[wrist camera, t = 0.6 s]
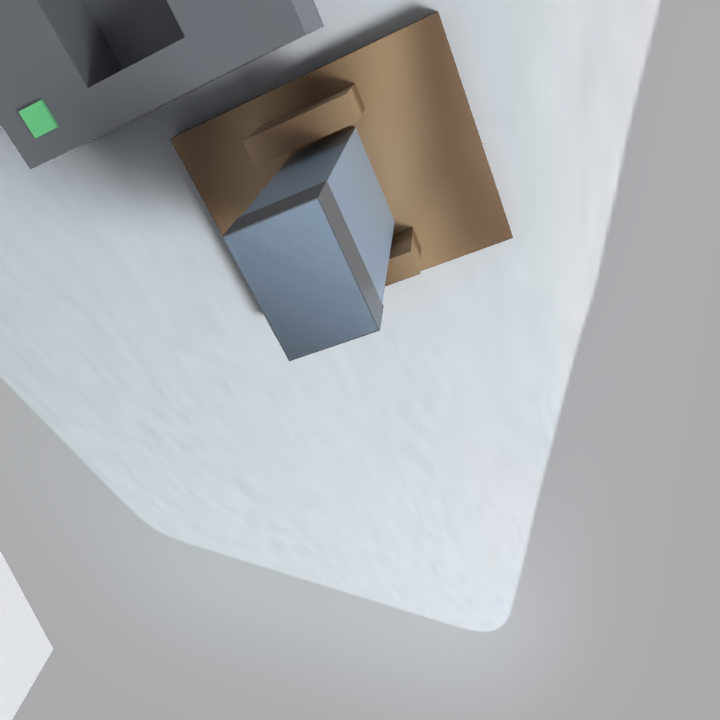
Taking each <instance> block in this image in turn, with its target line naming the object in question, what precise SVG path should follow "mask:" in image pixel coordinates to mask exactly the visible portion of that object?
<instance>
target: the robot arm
mask: <svg viewBox="0 0 720 720" xmlns="http://www.w3.org/2000/svg"><path fill="white" fill-rule="evenodd" d="M52 650H53V648H52V646H51V645H50V643H49V641H48V639H47V637H46V635H45V633H44V631H43V630H42V628H41V626H40V624H39V622H38V620H37V618H36V617H35V615H34V613H33V611H32V609H31V607H30V605H29V604H28V602H27V600H26V598H25V596H24V594H23V592H22V591H21V589H20V587H19V585H18V583H17V581H16V580H15V578H14V576H13V574H12V572H11V570H10V568H9V567H8V565H7V563H6V561H5V559H4V557H3V556H2V554H1V552H0V720H12V719H13V717H14V715H15V714H16V712H17V710H18V708H19V707H20V705H21V703H22V702H23V700H24V698H25V696H26V695H27V693H28V691H29V690H30V688H31V686H32V685H33V683H34V681H35V679H36V678H37V676H38V674H39V672H40V671H41V669H42V667H43V665H44V664H45V662H46V660H47V659H48V657H49V655H50V654H51V652H52Z"/></svg>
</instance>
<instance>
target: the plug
mask: <svg viewBox="0 0 720 720" xmlns="http://www.w3.org/2000/svg"><path fill="white" fill-rule="evenodd" d="M394 224H395V221H394V218H393V216H392V214H391V211H390V209H389V206H388V204H387V201H386V199H385V197H384V194H383V192H382V189H381V187H380V185H379V182H378V180H377V177H376V175H375V172H374V170H373V168H372V165H371V163H370V160H369V158H368V156H367V153H366V151H365V148H364V146H363V143H362V141H361V139H360V136H359V134H358V131H357V129H356V127H354V128H352V129H350V130H348V131H345V132H343V133H341V134H338V135H336V136H334V137H332V138H329V139H327V140H325V141H323V142H320V143H318V144H316V145H313V146H311V147H309V148H307V149H304V150H302V151H300V152H297V153H295V154H293V155H291V156H290V157H289V158H288V160H287V161H286V162H285V163H284V164H283V166H282V167H281V168H280V169H279V171H278V172H277V173H276V174H275V175H274V177H273V178H272V179H271V180H270V181H269V183H268V184H267V185H266V186H265V188H264V189H263V190H262V191H261V192H260V194H259V195H258V196H257V197H256V199H255V200H254V201H253V202H252V203H251V205H250V206H249V207H248V208H247V210H246V211H245V212H244V213H243V214H242V216H241V217H239V218H237V219H236V220H235V221H234V222H233V224H232V225H231V226H230V227H229V228H228V230H227V231H226V232H225V233H224V234H223V236H222V239H223V241H224V243H225V244H226V246H227V248H228V250H229V252H230V254H231V255H232V257H233V259H234V261H235V263H236V265H237V266H238V268H239V270H240V272H241V274H242V276H243V277H244V279H245V281H246V283H247V285H248V287H249V288H250V290H251V292H252V294H253V296H254V298H255V299H256V301H257V303H258V305H259V307H260V309H261V310H262V312H263V314H264V316H265V318H266V320H267V321H268V323H269V325H270V327H271V329H272V331H273V332H274V334H275V336H276V338H277V340H278V342H279V343H280V345H281V347H282V349H283V351H284V353H285V354H286V356H287V358H288V360H289V361H292V360H294V359H297V358H300V357H303V356H306V355H309V354H312V353H315V352H318V351H321V350H324V349H327V348H330V347H333V346H336V345H339V344H342V343H344V342H347V341H350V340H353V339H356V338H359V337H362V336H365V335H368V334H371V333H374V332H377V331H380V326H381V319H382V312H383V304H382V300H383V294H384V288H385V281H386V275H387V269H388V262H389V256H390V249H391V243H392V237H393V230H394Z"/></svg>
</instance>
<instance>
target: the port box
mask: <svg viewBox="0 0 720 720" xmlns="http://www.w3.org/2000/svg"><path fill="white" fill-rule="evenodd" d="M321 27H323V23H322V21H321V18H320V16H319V13H318V11H317V8H316V6H315V4H314V1H313V0H0V123H1V125H2V126H3V128H4V129H5V131H6V133H7V134H8V136H9V137H10V139H11V140H12V142H13V143H14V145H15V146H16V148H17V149H18V151H19V152H20V154H21V155H22V157H23V159H24V160H25V162H26V163H27V165H28V166H29V168H30V169H32V168H34V167H36V166H39V165H41V164H43V163H45V162H47V161H49V160H51V159H54V158H56V157H58V156H60V155H62V154H64V153H66V152H69V151H71V150H73V149H75V148H77V147H79V146H82V145H84V144H86V143H88V142H90V141H92V140H94V139H96V138H98V137H100V136H102V135H104V134H106V133H108V132H110V131H112V130H114V129H116V128H118V127H120V126H122V125H124V124H126V123H128V122H130V121H132V120H134V119H136V118H138V117H140V116H142V115H144V114H146V113H149V112H151V111H153V110H155V109H157V108H159V107H161V106H163V105H165V104H167V103H169V102H171V101H173V100H175V99H177V98H179V97H181V96H183V95H185V94H187V93H189V92H191V91H193V90H195V89H197V88H199V87H201V86H203V85H205V84H207V83H209V82H211V81H213V80H215V79H217V78H220V77H222V76H224V75H226V74H228V73H230V72H232V71H234V70H236V69H238V68H240V67H242V66H244V65H246V64H248V63H250V62H252V61H254V60H256V59H258V58H260V57H262V56H264V55H266V54H268V53H270V52H272V51H274V50H276V49H278V48H280V47H282V46H284V45H286V44H288V43H291V42H293V41H295V40H297V39H299V38H301V37H303V36H305V35H307V34H309V33H311V32H313V31H315V30H317V29H319V28H321Z"/></svg>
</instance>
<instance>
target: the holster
mask: <svg viewBox="0 0 720 720" xmlns="http://www.w3.org/2000/svg"><path fill="white" fill-rule="evenodd" d="M354 127H356V129H357V131H358V134H359V136H360V139H361V141H362V143H363V146H364V148H365V151H366V153H367V156H368V158H369V160H370V163H371V165H372V168H373V170H374V172H375V175H376V177H377V180H378V182H379V185H380V187H381V189H382V192H383V194H384V197H385V199H386V201H387V204H388V206H389V209H390V211H391V214H392V216H393V218H394V221H395V224H394V230H393V237H392V243H391V249H390V256H389V262H388V269H387V275H386V281H385V286H388V285H390V284H393V283H396V282H399V281H401V280H404V279H407V278H410V277H413V276H415V275H418V274H420V271H422V270H425V269H428V268H431V267H433V266H436V265H439V264H442V263H445V262H447V261H450V260H453V259H456V258H458V257H461V256H464V255H467V254H469V253H472V252H475V251H478V250H481V249H483V248H486V247H489V246H492V245H494V244H497V243H500V242H503V241H506V240H508V239H511V238H513V236H512V233H511V230H510V227H509V224H508V221H507V218H506V215H505V212H504V209H503V206H502V203H501V200H500V197H499V194H498V191H497V188H496V185H495V182H494V179H493V176H492V173H491V170H490V167H489V164H488V161H487V158H486V155H485V152H484V149H483V146H482V143H481V140H480V137H479V134H478V131H477V128H476V125H475V122H474V119H473V116H472V113H471V110H470V107H469V104H468V101H467V98H466V95H465V92H464V89H463V86H462V83H461V80H460V76H459V73H458V70H457V67H456V64H455V61H454V58H453V55H452V52H451V49H450V46H449V43H448V40H447V37H446V34H445V31H444V28H443V25H442V22H441V19H440V16H439V13H438V11H437V12H435V13H433V14H431V15H429V16H427V17H425V18H423V19H421V20H419V21H416V22H414V23H412V24H410V25H408V26H406V27H404V28H402V29H400V30H397V31H395V32H393V33H391V34H389V35H387V36H385V37H383V38H381V39H378V40H376V41H374V42H372V43H370V44H368V45H366V46H364V47H362V48H359V49H357V50H355V51H353V52H351V53H349V54H347V55H345V56H343V57H341V58H338V59H336V60H334V61H332V62H330V63H328V64H326V65H324V66H322V67H319V68H317V69H315V70H313V71H311V72H309V73H307V74H305V75H303V76H300V77H298V78H296V79H294V80H292V81H290V82H288V83H286V84H284V85H281V86H279V87H277V88H275V89H273V90H271V91H269V92H267V93H265V94H263V95H260V96H258V97H256V98H254V99H252V100H250V101H248V102H246V103H244V104H241V105H239V106H237V107H235V108H233V109H231V110H229V111H227V112H225V113H222V114H220V115H218V116H216V117H214V118H212V119H210V120H208V121H206V122H203V123H201V124H199V125H197V126H195V127H193V128H191V129H189V130H187V131H184V132H182V133H180V134H178V135H176V136H175V137H173V138H171V139H170V140H171V141H172V143H173V145H174V147H175V149H176V151H177V152H178V154H179V156H180V158H181V160H182V162H183V163H184V165H185V167H186V169H187V171H188V173H189V174H190V176H191V178H192V180H193V182H194V184H195V185H196V187H197V189H198V191H199V193H200V195H201V196H202V198H203V200H204V202H205V204H206V206H207V207H208V209H209V211H210V213H211V215H212V217H213V218H214V220H215V222H216V224H217V226H218V228H219V230H220V231H221V233H222V235H223V234H224V233H225V232H226V231H227V230H228V228H229V227H230V226H231V225H232V224H233V222H234V221H235V220H236V219H237V218H239V217H241V216H242V214H243V213H244V212H245V211H246V210H247V208H248V207H249V206H250V205H251V203H252V202H253V201H254V200H255V199H256V197H257V196H258V195H259V194H260V192H261V191H262V190H263V189H264V188H265V186H266V185H267V184H268V183H269V181H270V180H271V179H272V178H273V177H274V175H275V174H276V173H277V172H278V171H279V169H280V168H281V167H282V166H283V164H284V163H285V162H286V161H287V160H288V158H289V157H290V156H291V155H293V154H295V153H297V152H300V151H302V150H304V149H307V148H309V147H311V146H313V145H316V144H318V143H320V142H323V141H325V140H327V139H329V138H332V137H334V136H336V135H338V134H341V133H343V132H345V131H348V130H350V129H352V128H354Z"/></svg>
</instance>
